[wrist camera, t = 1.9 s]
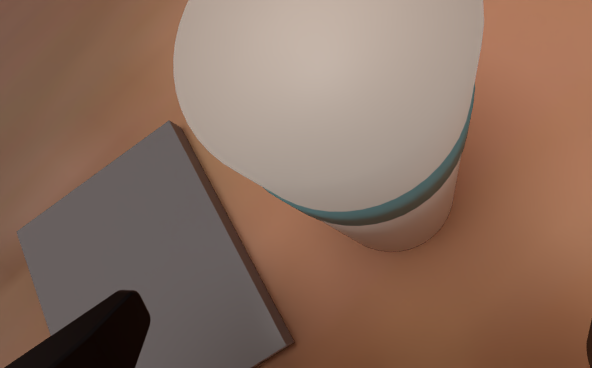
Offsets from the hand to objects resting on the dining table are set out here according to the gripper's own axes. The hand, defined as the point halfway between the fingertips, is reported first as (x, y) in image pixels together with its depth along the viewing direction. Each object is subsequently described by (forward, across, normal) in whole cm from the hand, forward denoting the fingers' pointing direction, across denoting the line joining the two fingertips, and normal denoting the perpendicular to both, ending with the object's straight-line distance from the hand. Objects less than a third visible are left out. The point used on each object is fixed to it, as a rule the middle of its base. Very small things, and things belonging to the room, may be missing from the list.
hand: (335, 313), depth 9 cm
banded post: (+12, 0, +5) cm, 13 cm away
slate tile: (+8, +13, +8) cm, 17 cm away
